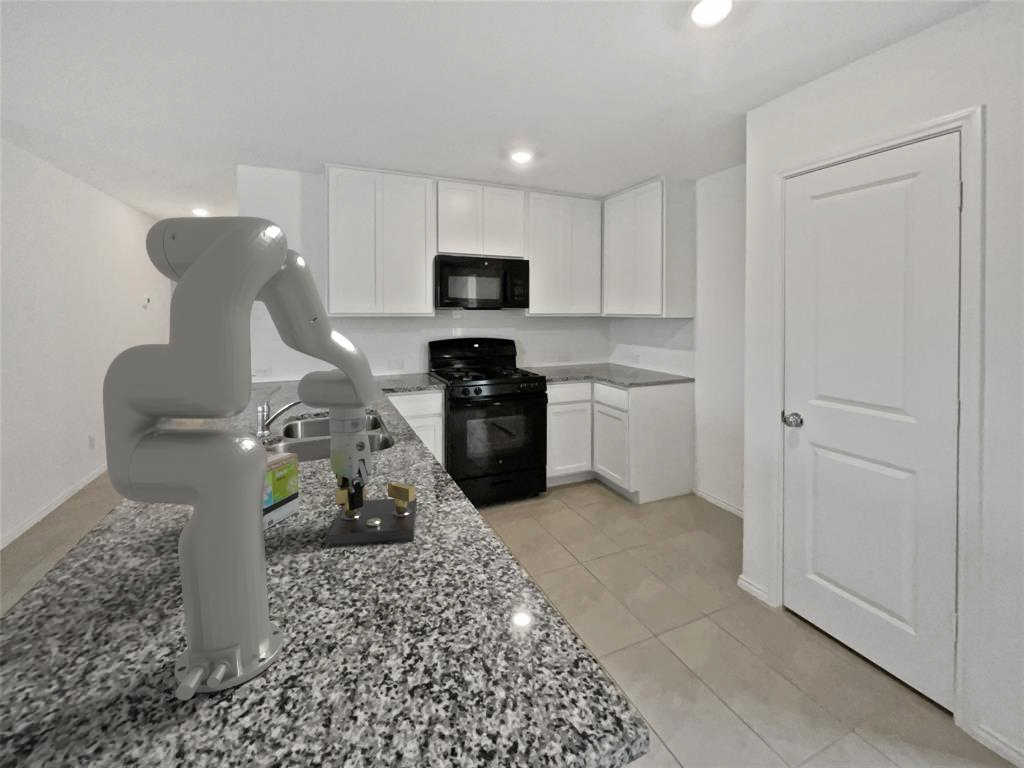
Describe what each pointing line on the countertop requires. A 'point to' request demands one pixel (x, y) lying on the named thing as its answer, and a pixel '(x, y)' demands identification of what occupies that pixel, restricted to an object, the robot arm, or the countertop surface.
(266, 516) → the tea box
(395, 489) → the knob
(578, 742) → the countertop surface
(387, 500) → the base
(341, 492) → the knob
